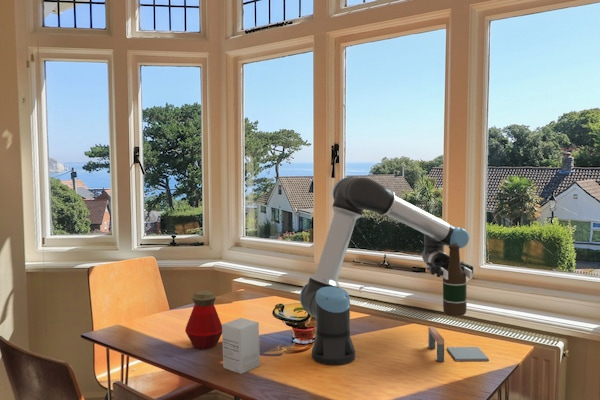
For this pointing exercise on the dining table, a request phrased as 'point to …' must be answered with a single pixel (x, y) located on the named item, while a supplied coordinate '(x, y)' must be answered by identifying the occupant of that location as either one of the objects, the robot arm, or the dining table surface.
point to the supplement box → (240, 345)
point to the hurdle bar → (436, 335)
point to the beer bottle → (454, 285)
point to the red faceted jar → (204, 321)
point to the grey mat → (467, 354)
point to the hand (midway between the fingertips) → (459, 275)
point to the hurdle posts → (439, 347)
